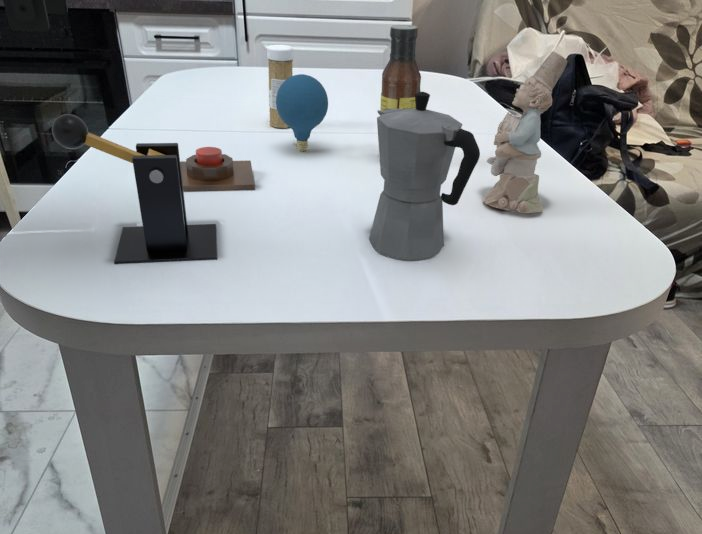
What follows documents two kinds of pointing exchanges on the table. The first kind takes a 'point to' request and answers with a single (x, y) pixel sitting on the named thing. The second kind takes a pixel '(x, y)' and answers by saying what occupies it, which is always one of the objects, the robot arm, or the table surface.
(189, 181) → the button block
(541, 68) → the figurine
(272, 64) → the sprinkles bottle
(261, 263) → the table surface
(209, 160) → the lamp button
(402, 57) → the sauce bottle
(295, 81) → the light bulb
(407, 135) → the coffeepot
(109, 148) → the switch lever
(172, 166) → the lamp switch
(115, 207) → the table surface
